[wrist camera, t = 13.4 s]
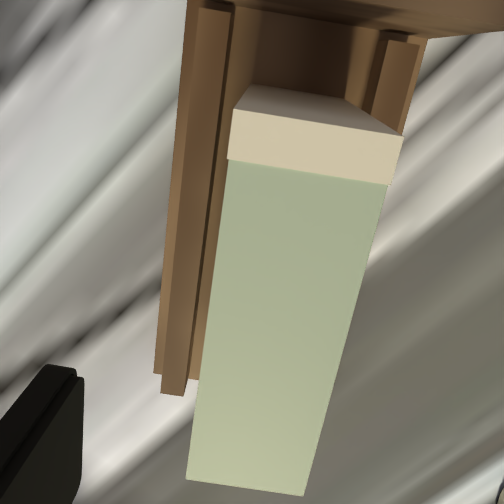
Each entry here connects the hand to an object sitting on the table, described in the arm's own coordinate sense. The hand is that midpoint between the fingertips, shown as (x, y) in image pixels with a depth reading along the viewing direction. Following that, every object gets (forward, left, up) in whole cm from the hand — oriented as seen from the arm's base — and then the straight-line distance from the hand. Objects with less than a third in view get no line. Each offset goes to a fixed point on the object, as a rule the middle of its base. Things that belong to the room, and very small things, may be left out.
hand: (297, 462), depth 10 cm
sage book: (0, 0, -14) cm, 14 cm away
